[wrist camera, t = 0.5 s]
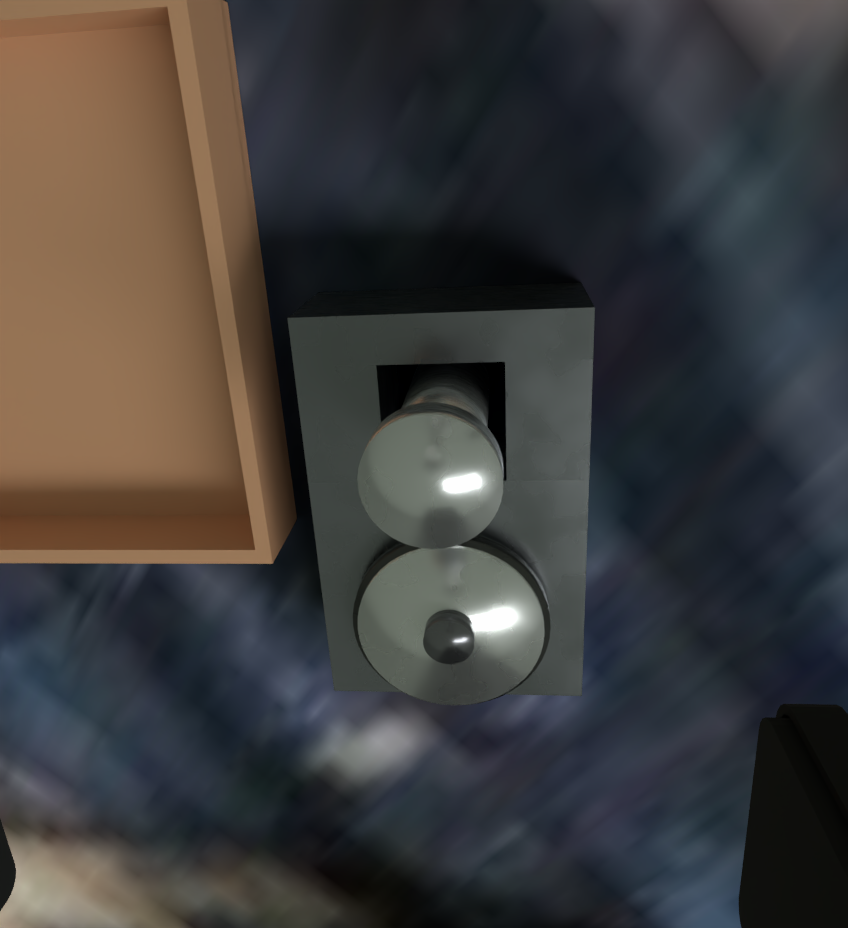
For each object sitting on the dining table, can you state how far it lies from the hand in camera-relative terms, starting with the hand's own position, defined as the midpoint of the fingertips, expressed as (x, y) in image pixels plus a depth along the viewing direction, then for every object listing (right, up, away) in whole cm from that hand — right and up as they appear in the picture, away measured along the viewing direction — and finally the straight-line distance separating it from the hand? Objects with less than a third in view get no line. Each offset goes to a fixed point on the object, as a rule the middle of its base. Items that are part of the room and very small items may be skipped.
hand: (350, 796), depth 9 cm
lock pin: (+2, +8, +30) cm, 31 cm away
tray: (-18, +12, +31) cm, 38 cm away
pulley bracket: (+3, +3, +32) cm, 33 cm away
